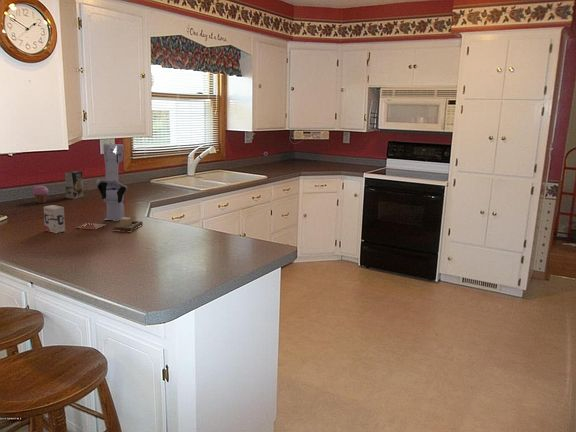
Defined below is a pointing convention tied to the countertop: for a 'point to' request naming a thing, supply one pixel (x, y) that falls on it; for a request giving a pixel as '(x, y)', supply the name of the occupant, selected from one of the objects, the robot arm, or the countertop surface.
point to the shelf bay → (136, 224)
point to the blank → (125, 222)
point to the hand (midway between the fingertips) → (112, 200)
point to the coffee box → (74, 184)
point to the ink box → (54, 218)
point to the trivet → (94, 225)
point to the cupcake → (40, 193)
